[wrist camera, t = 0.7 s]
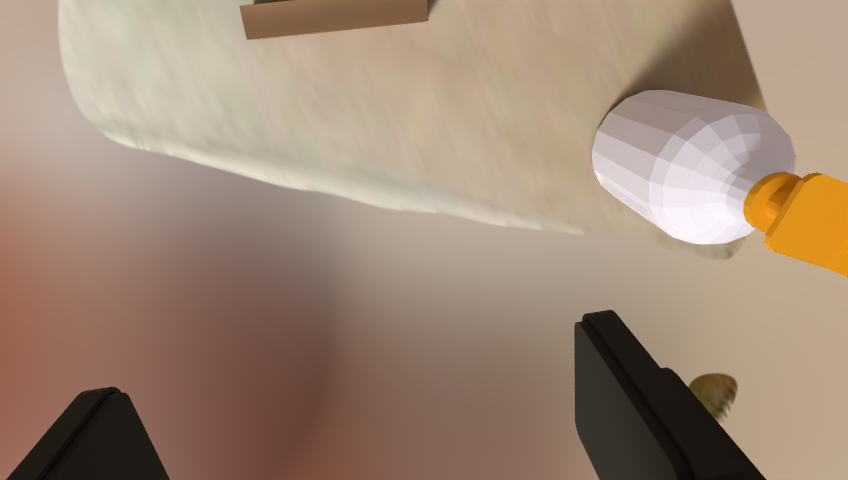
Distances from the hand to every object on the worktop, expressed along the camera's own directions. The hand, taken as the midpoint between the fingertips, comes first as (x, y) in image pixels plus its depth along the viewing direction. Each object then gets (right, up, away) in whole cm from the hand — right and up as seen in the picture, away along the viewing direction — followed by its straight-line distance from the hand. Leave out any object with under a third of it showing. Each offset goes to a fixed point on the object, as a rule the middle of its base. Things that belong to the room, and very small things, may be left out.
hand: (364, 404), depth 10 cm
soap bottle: (+19, +11, +30) cm, 37 cm away
